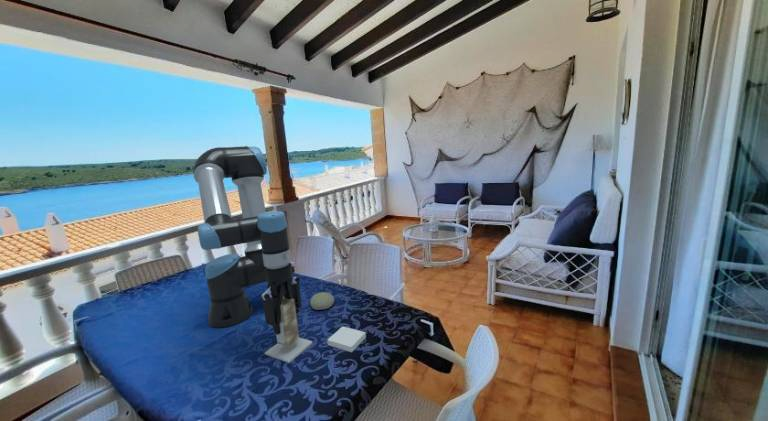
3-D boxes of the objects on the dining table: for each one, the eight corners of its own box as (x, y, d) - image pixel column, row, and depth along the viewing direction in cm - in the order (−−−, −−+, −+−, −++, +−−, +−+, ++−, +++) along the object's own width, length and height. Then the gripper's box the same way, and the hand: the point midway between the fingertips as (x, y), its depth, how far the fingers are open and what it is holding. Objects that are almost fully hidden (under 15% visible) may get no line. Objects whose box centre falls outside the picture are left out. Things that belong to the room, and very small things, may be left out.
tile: (327, 339, 92) (351, 347, 88) (342, 326, 99) (365, 332, 95) (327, 346, 92) (351, 353, 88) (343, 332, 99) (366, 338, 95)
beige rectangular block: (288, 346, 88) (282, 306, 86) (277, 343, 90) (271, 303, 88) (299, 338, 92) (294, 299, 90) (288, 335, 94) (283, 296, 92)
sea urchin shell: (331, 307, 112) (315, 293, 112) (318, 320, 114) (303, 306, 114) (339, 296, 121) (325, 282, 121) (327, 308, 123) (313, 295, 123)
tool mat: (264, 354, 90) (264, 352, 90) (289, 336, 98) (289, 334, 98) (289, 363, 85) (289, 361, 85) (312, 343, 94) (312, 341, 94)
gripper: (262, 277, 78) (274, 358, 82) (308, 256, 93) (316, 324, 97) (243, 274, 81) (255, 351, 85) (290, 254, 96) (299, 320, 100)
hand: (287, 337), depth 91 cm, fingers closed on beige rectangular block, 4 cm apart
